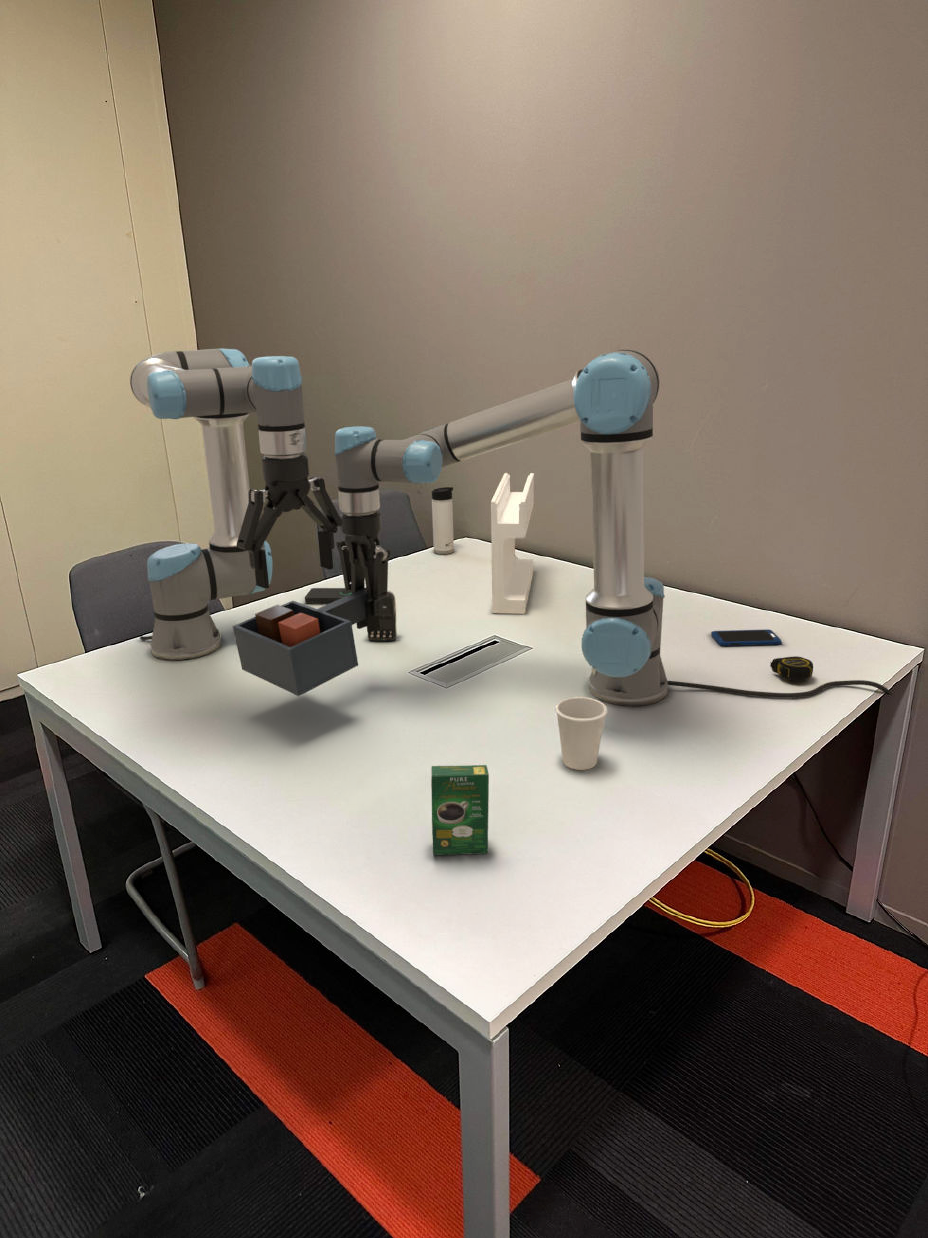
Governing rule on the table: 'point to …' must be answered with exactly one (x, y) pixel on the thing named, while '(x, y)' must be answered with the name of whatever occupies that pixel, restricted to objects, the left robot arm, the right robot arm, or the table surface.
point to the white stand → (510, 546)
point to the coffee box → (460, 809)
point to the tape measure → (793, 668)
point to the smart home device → (325, 595)
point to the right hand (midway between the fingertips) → (368, 628)
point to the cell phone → (746, 637)
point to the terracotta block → (298, 629)
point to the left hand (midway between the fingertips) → (295, 577)
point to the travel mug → (442, 520)
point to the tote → (305, 646)
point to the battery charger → (386, 620)
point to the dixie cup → (580, 731)
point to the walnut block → (272, 621)
